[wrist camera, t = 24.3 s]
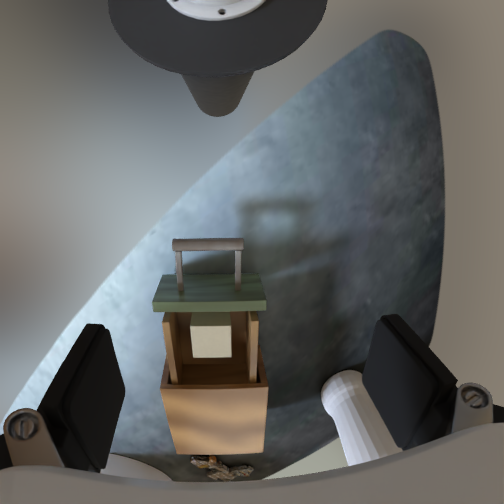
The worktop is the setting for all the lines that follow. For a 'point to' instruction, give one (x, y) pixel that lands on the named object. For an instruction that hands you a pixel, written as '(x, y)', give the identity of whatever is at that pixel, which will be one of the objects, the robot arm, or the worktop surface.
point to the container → (132, 469)
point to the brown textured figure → (220, 468)
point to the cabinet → (217, 415)
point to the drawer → (210, 300)
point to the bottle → (356, 419)
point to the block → (211, 334)
